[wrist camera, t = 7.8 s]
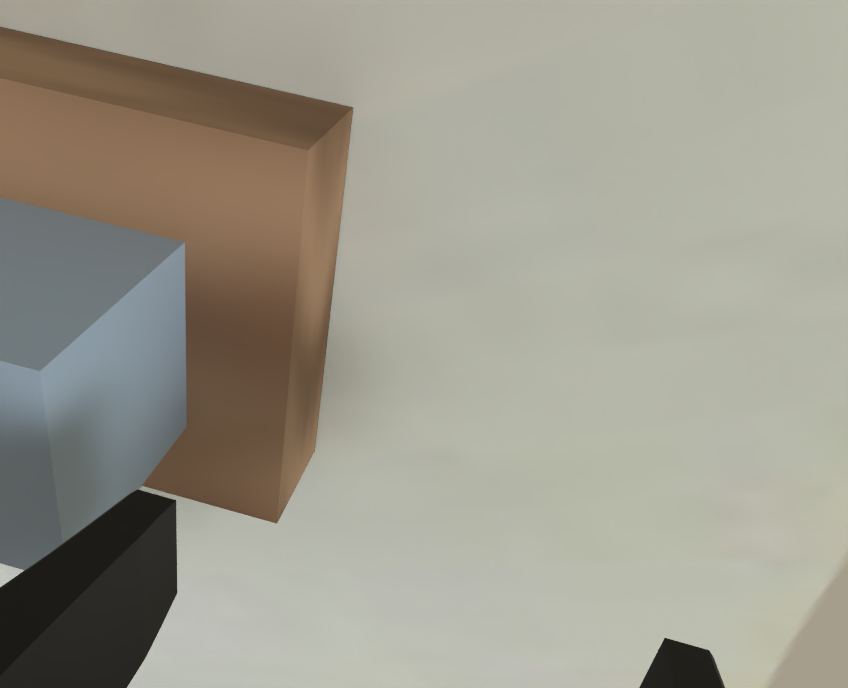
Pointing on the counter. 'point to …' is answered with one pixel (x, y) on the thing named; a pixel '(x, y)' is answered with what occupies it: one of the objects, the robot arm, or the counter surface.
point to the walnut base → (200, 237)
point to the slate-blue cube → (83, 370)
